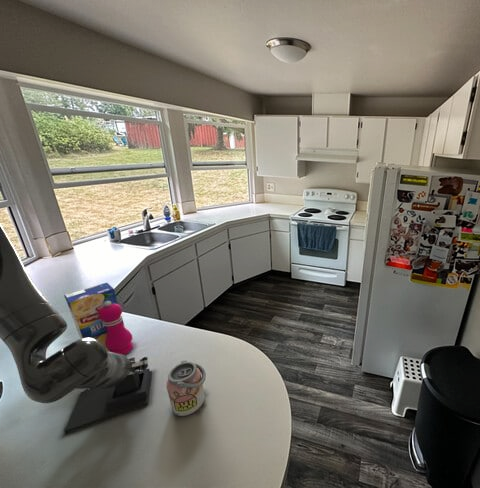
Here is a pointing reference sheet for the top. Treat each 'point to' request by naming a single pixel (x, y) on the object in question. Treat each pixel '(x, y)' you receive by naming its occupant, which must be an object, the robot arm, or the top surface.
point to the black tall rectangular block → (128, 383)
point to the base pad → (107, 403)
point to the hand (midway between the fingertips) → (127, 371)
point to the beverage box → (91, 310)
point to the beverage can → (186, 387)
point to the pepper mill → (115, 329)
